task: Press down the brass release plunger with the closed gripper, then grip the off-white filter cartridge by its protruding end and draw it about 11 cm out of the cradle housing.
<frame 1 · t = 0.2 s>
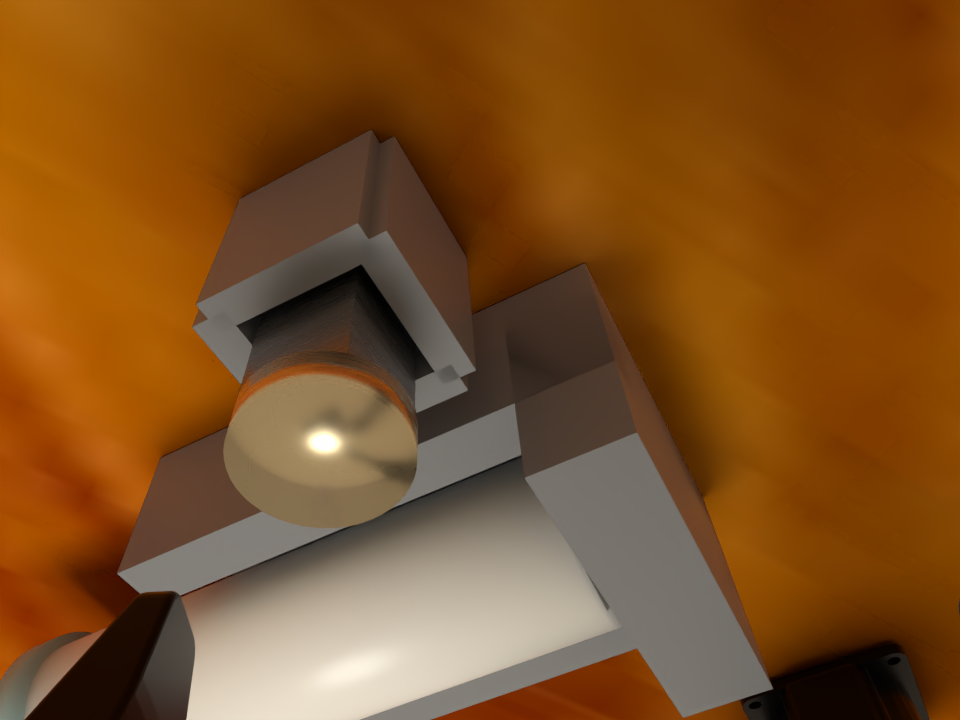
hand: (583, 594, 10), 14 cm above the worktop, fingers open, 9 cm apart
filter cartridge: (305, 641, 25), point 4 cm above the worktop, slide at 0.0 cm
release plunger: (336, 356, 18), point 5 cm above the worktop, slide at 0.0 cm
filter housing: (442, 479, 27), on the worktop
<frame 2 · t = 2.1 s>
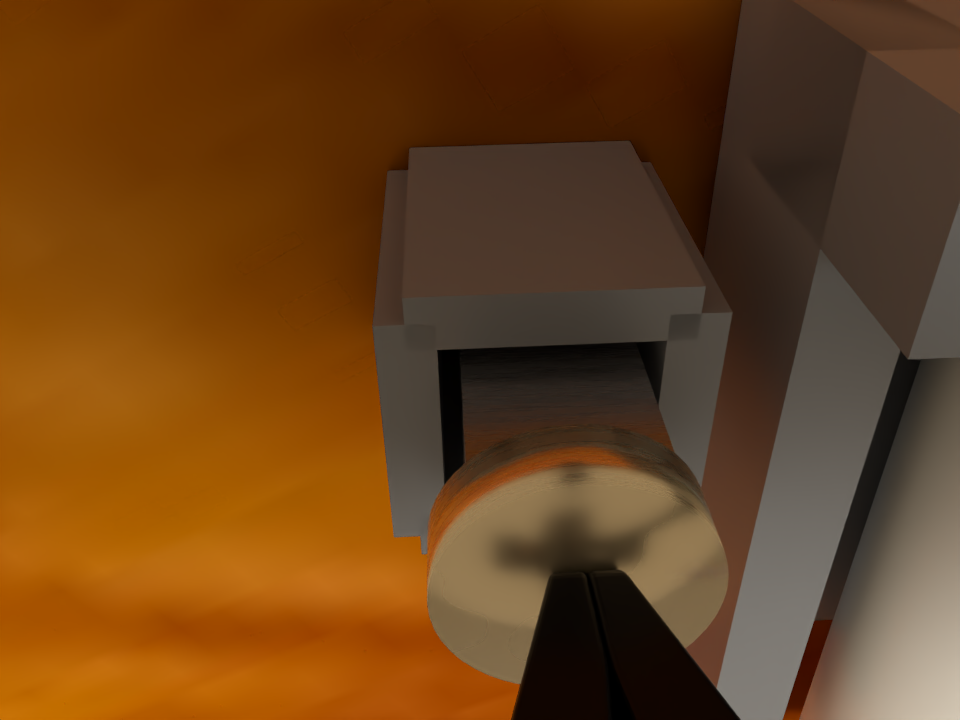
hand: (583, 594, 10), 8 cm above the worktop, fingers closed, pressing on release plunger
release plunger: (545, 416, 12), point 5 cm above the worktop, slide at 0.7 cm, touching gripper
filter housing: (934, 333, 18), on the worktop
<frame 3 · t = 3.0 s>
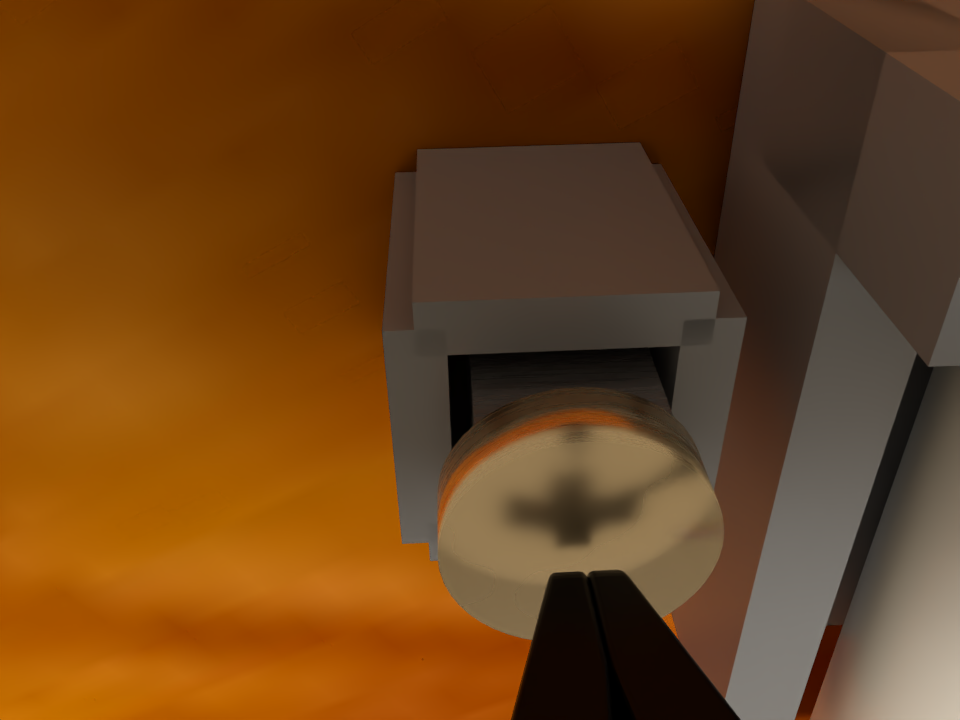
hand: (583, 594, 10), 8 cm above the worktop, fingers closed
release plunger: (550, 388, 13), point 4 cm above the worktop, slide at 1.5 cm
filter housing: (945, 337, 17), on the worktop
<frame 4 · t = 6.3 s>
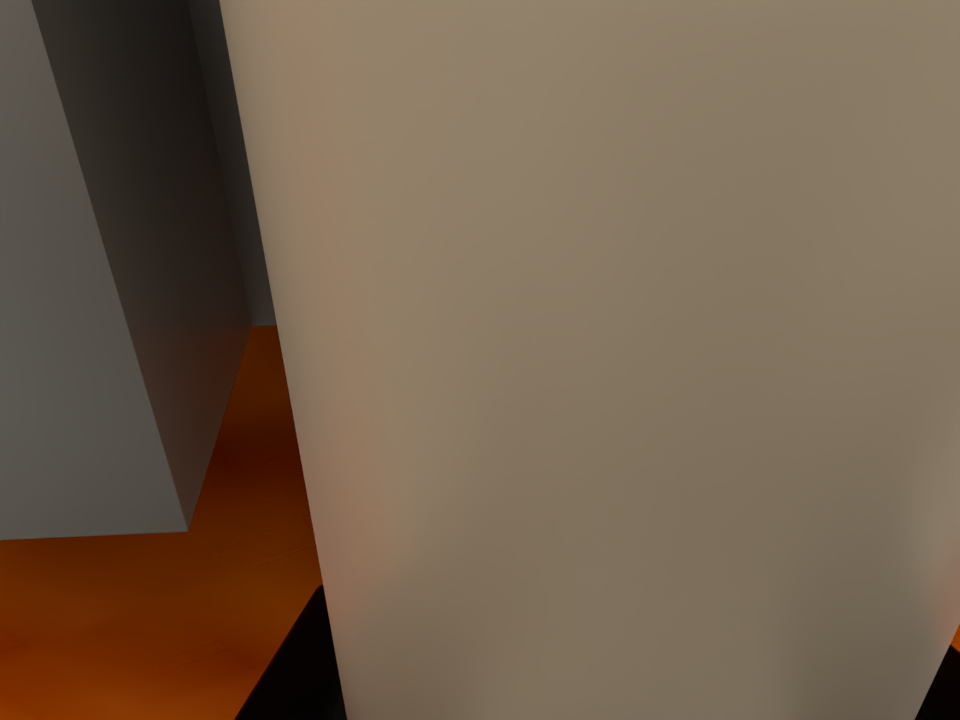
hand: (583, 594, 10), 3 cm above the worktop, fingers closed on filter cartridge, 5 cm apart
filter cartridge: (653, 223, 6), point 4 cm above the worktop, slide at 0.0 cm, touching gripper
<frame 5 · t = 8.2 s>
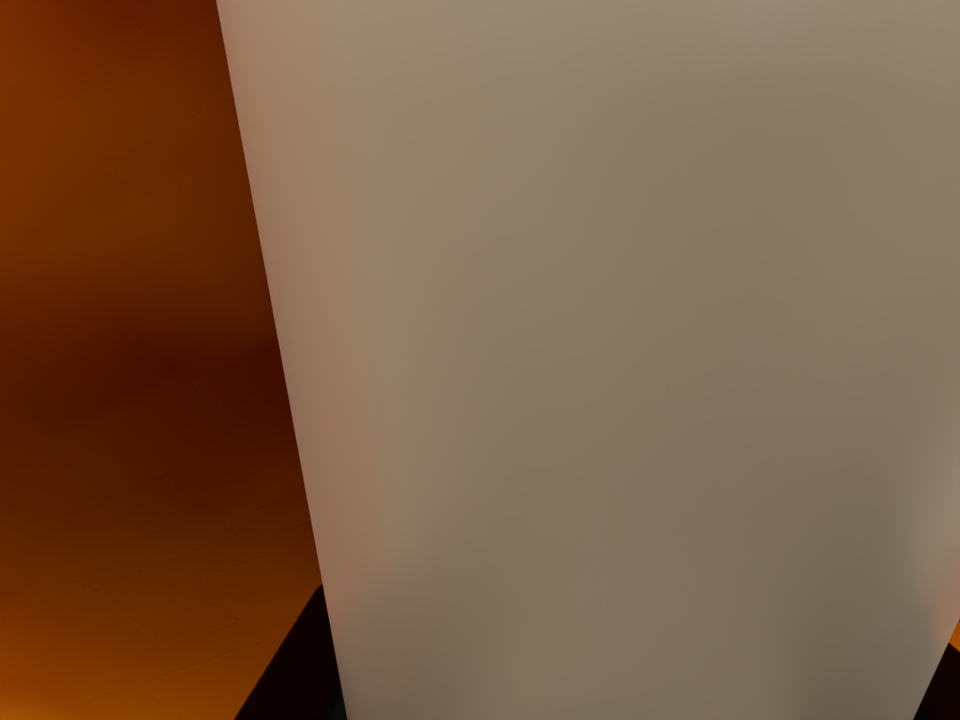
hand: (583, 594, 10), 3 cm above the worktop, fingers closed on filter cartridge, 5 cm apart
filter cartridge: (650, 218, 6), point 4 cm above the worktop, slide at 6.4 cm, touching gripper
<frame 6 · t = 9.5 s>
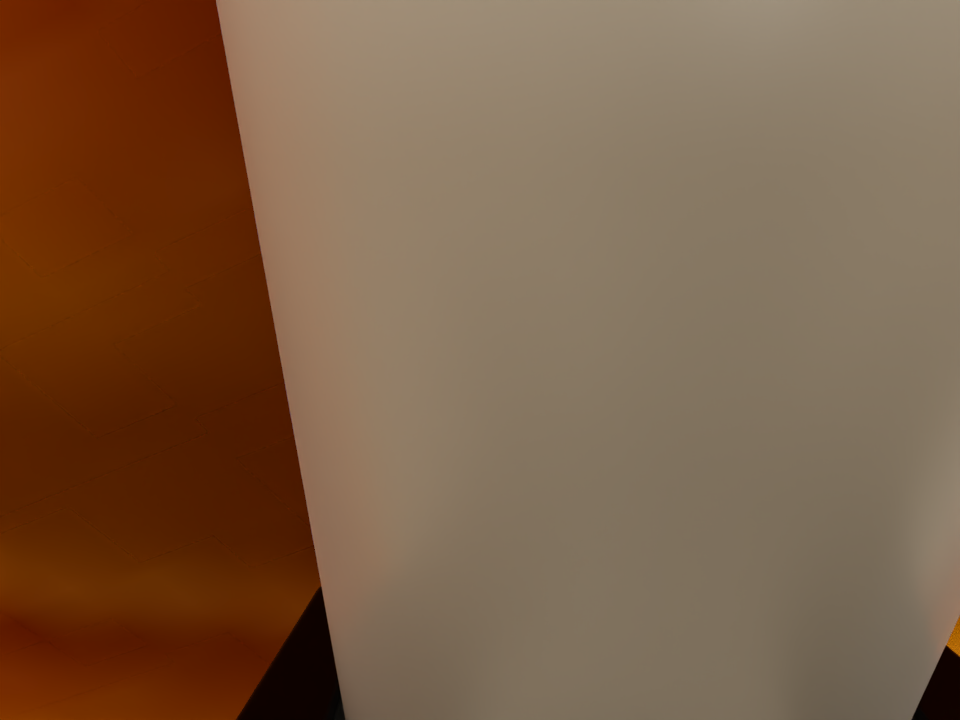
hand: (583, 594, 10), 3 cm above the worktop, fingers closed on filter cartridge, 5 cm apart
filter cartridge: (650, 220, 6), point 4 cm above the worktop, slide at 10.9 cm, touching gripper
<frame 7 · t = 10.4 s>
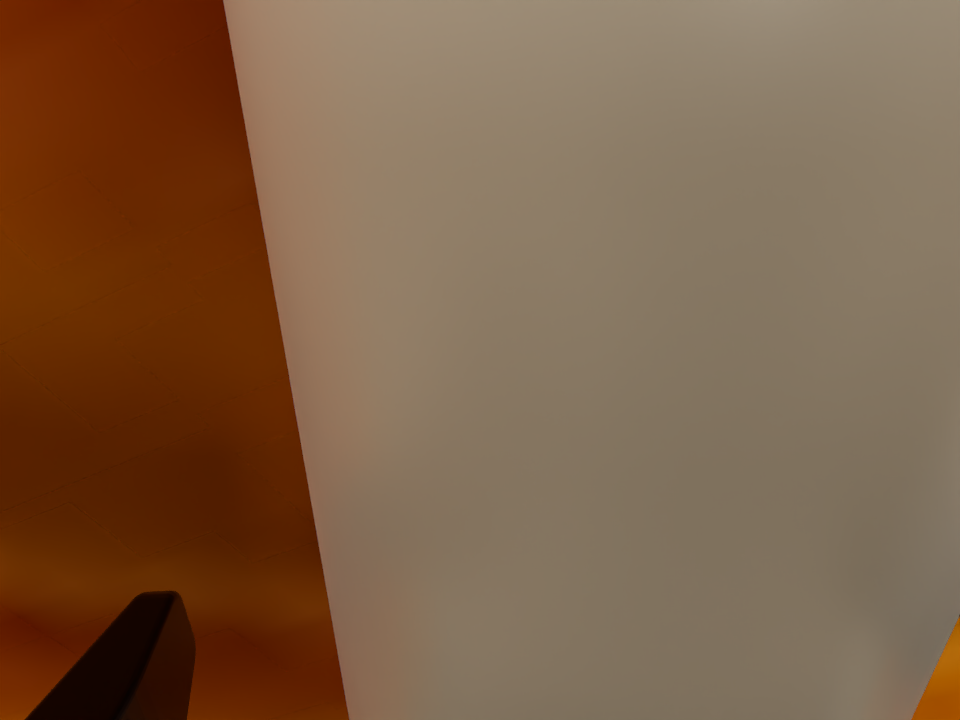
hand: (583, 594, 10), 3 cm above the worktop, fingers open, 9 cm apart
filter cartridge: (654, 213, 6), point 4 cm above the worktop, slide at 10.9 cm
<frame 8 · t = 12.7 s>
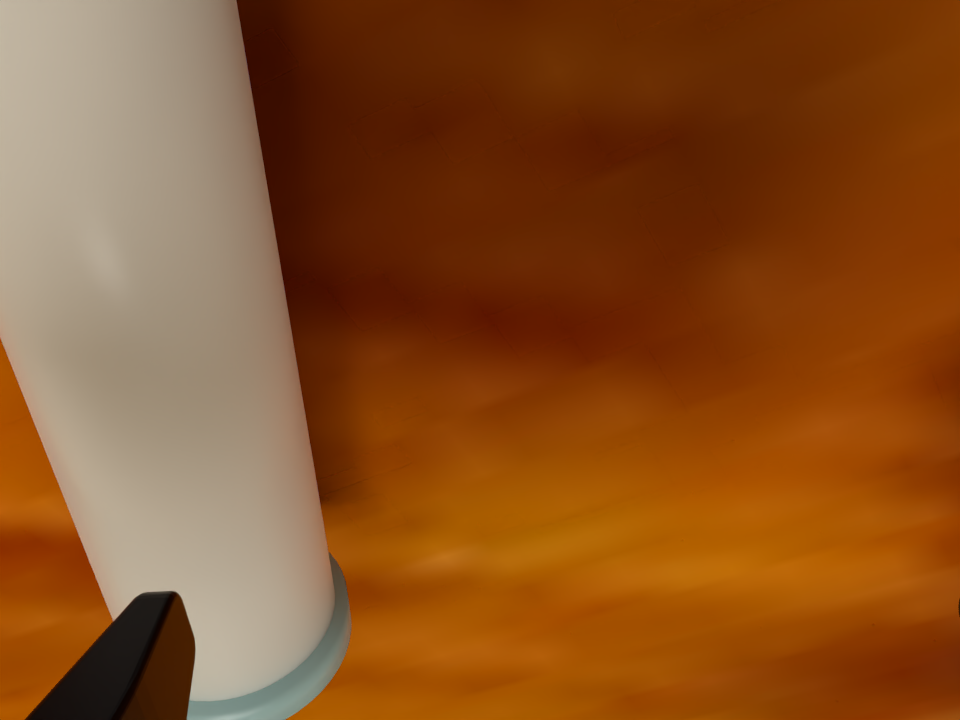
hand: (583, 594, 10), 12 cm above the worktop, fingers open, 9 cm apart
filter cartridge: (160, 347, 17), point 4 cm above the worktop, slide at 10.9 cm
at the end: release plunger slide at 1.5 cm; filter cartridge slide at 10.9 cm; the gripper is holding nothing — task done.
